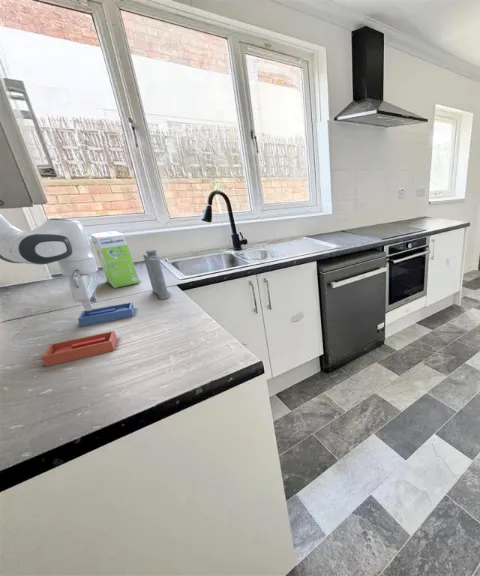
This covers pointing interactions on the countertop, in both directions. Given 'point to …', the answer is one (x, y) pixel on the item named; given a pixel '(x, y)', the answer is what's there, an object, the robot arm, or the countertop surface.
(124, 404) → the countertop surface
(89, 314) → the blue spoon
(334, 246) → the countertop surface
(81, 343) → the red spoon
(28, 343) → the countertop surface
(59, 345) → the red tray
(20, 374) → the countertop surface
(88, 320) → the blue tray
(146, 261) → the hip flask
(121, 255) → the cleaning wipes box
